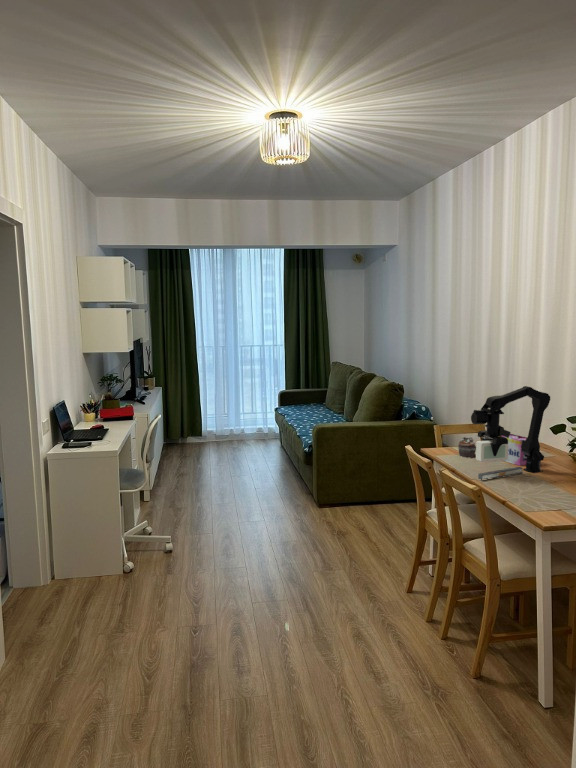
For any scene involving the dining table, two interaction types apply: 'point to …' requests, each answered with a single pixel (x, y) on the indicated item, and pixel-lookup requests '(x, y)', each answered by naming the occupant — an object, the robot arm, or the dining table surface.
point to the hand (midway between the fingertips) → (491, 454)
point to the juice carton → (490, 452)
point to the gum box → (515, 450)
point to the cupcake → (467, 447)
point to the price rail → (500, 473)
